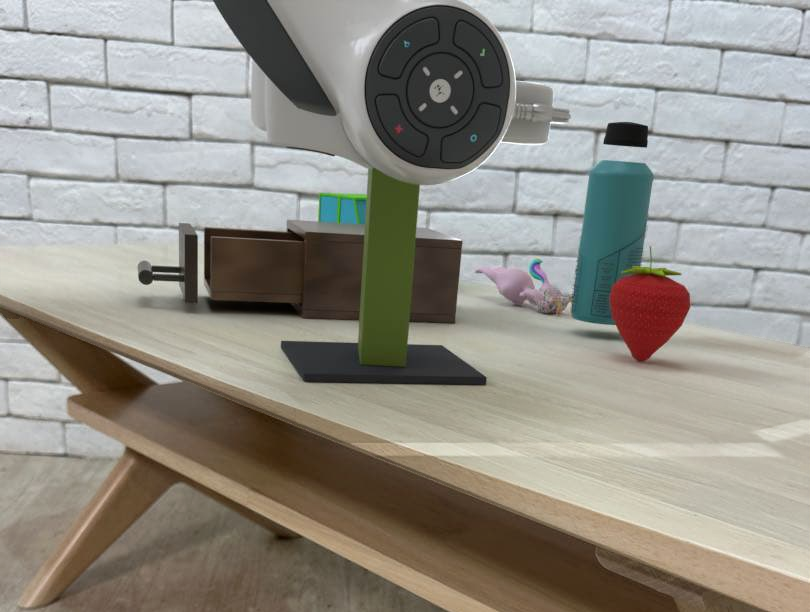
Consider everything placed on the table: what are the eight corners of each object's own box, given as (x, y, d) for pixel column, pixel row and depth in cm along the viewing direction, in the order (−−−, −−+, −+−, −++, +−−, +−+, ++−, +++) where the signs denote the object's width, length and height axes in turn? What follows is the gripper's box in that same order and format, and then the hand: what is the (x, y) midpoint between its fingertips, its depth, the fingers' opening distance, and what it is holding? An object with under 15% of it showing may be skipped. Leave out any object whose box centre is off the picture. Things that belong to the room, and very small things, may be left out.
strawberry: (654, 373, 85) (674, 252, 81) (585, 355, 90) (602, 240, 86) (693, 367, 89) (715, 251, 85) (626, 351, 94) (643, 240, 90)
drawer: (139, 301, 93) (137, 231, 91) (137, 283, 103) (136, 220, 101) (335, 308, 98) (338, 242, 96) (315, 291, 108) (318, 230, 106)
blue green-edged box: (385, 291, 118) (391, 203, 114) (309, 275, 126) (313, 192, 123) (441, 287, 125) (448, 204, 122) (366, 273, 133) (371, 194, 130)
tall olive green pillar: (360, 364, 76) (373, 139, 70) (357, 349, 82) (370, 139, 76) (405, 367, 76) (423, 144, 70) (400, 352, 82) (415, 143, 76)
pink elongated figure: (582, 326, 113) (495, 285, 123) (596, 275, 111) (506, 236, 120) (544, 329, 110) (457, 286, 119) (557, 276, 107) (468, 236, 116)
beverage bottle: (617, 343, 97) (651, 122, 90) (555, 332, 100) (583, 117, 93) (640, 335, 102) (674, 126, 95) (580, 325, 106) (608, 122, 98)
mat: (303, 381, 72) (304, 373, 72) (280, 347, 83) (280, 340, 83) (486, 384, 76) (487, 377, 76) (441, 351, 86) (442, 345, 86)
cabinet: (302, 318, 97) (305, 231, 94) (284, 297, 108) (286, 219, 105) (455, 323, 101) (462, 240, 98) (422, 302, 112) (428, 228, 109)
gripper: (585, 59, 60) (539, 72, 73) (244, 26, 58) (257, 45, 71) (570, 170, 63) (528, 164, 75) (241, 142, 60) (255, 140, 73)
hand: (394, 106), depth 73 cm, fingers open, 8 cm apart
